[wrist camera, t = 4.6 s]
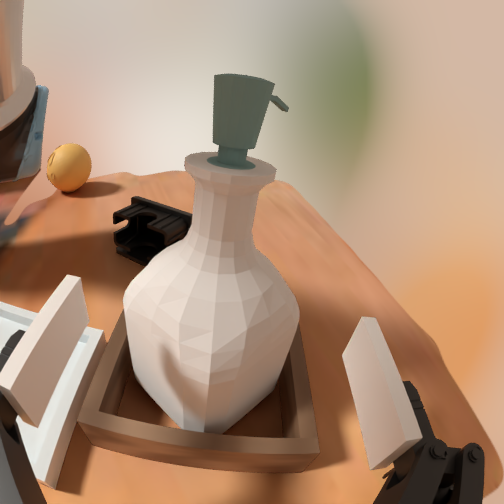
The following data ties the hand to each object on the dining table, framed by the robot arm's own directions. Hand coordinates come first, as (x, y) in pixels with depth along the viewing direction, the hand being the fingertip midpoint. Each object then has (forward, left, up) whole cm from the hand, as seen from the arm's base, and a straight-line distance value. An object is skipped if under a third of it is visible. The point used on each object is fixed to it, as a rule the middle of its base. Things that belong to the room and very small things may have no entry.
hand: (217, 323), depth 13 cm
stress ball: (-34, +44, -13) cm, 57 cm away
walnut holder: (0, +5, -12) cm, 13 cm away
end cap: (-9, +25, -13) cm, 30 cm away
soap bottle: (0, +5, -13) cm, 14 cm away
